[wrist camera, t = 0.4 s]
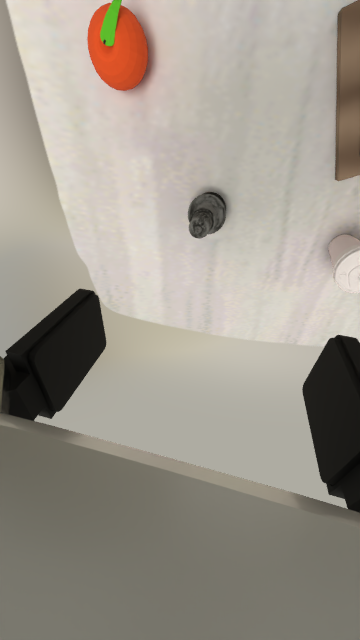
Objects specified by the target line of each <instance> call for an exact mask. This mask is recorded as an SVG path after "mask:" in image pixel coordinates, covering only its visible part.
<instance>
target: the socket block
mask: <svg viewBox="0 0 360 640" xmlns="http://www.w3.org/2000/svg"><path fill="white" fill-rule="evenodd" d="M358 175H360V0H358V1H356V2H354V3H352V4H350V5H348V6H346V7H344V8H342V9H341V11H340V12H339V14H338V41H337V106H336V172H335V180H337V181H341V180H344V179H347V178H351V177H354V176H358Z"/></svg>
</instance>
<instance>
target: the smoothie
mask: <svg viewBox="0 0 360 640" xmlns="http://www.w3.org/2000/svg"><path fill="white" fill-rule="evenodd" d="M328 251H329V254H330V258H331V262H332V265H333V269H334V270H333V279H334V281H335V283H336V284H337V285H338V287H339V288H341V289H342V290H344V291H346V292H350V293H360V240H358V239H356V238H354V237H352V236H350V235H340V236H337V237H336V238H334V239H333V240H332V241H331V242H330V244H329V247H328Z"/></svg>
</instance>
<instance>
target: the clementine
mask: <svg viewBox="0 0 360 640" xmlns="http://www.w3.org/2000/svg"><path fill="white" fill-rule="evenodd" d="M121 1H122V0H113V2H112V3H108V4H105V5H103V6H101V7H100V8H99V9H98V10H97V11H96V12H95V13H94V15H93V17H92V19H91V21H90V25H89V28H88V50H89V53H90V57H91V60H92V63H93V65H94V67H95V70H96V72H97V73H98V75H99V76H100V77H101V79H102V80H103V81H104V82H105V83H107V84H108V85H109V86H110V87H112V88H114V89H116V90H123V91H125V90H130V89H133V88H134V87H135V86H137V85H138V84H139V82H140V81H141V80H142V78H143V76H144V73H145V71H146V67H147V61H148V48H147V42H146V37H145V34H144V32H143V29H142V27H141V25H140V23H139V22H138V20H137V18H136V17H135V15H134V14H133V13H132V12H131V11H130V10H129V9H127V8H125V7H123V6H121Z"/></svg>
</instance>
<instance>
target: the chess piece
mask: <svg viewBox="0 0 360 640" xmlns="http://www.w3.org/2000/svg"><path fill="white" fill-rule="evenodd" d="M225 218H226V206H225V202H224V200H223V198H222V197H221V196H220V195H218V194H217V193H213V192H207V193H204V194H202V195H200V196H198V197H197V198H195V199H194V200H193V201H192V203H191V205H190V207H189V210H188V219H189V222H190V224H189V231H190V233H191V235H192V236H193V237H195V238H203V237H205V236H206V235H207V234H212V233H215V232H216V231H218V230H219V229H220V228H221V227H222V225H223V224H224V221H225Z"/></svg>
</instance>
